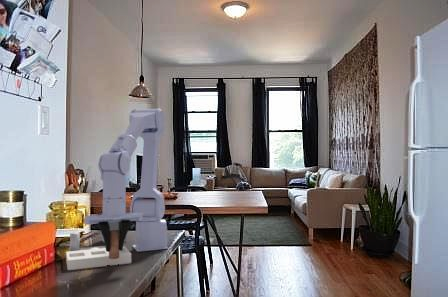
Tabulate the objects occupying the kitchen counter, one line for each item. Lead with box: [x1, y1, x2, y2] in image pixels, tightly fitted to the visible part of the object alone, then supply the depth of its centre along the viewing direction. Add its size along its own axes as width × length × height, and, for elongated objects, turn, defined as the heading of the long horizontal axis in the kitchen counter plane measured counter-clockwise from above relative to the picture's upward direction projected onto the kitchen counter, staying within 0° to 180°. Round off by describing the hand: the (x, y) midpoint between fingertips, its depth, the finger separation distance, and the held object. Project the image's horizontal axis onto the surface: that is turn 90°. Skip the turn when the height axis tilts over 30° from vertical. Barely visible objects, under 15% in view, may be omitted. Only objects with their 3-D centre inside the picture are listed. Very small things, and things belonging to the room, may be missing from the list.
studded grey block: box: [68, 232, 106, 251], centre depth 114 cm, size 14×6×6 cm, turn 115°
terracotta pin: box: [109, 230, 119, 259], centre depth 100 cm, size 3×3×7 cm
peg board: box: [65, 245, 132, 271], centre depth 105 cm, size 16×10×2 cm, turn 115°
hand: (114, 250), depth 100 cm, fingers closed on terracotta pin, 3 cm apart
